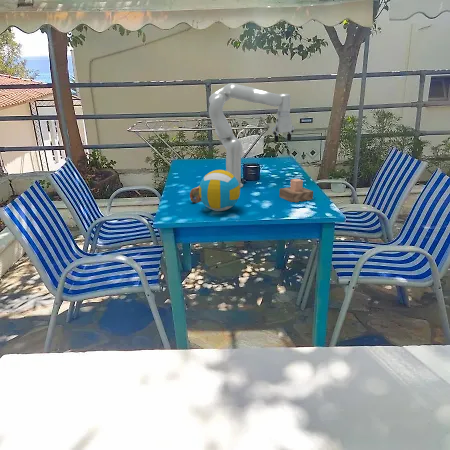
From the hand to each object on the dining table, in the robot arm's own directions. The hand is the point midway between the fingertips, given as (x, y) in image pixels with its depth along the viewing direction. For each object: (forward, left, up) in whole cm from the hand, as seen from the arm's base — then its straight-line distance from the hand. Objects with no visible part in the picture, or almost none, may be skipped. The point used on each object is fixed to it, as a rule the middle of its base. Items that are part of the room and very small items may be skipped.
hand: (282, 141), depth 269 cm
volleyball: (-62, -34, -28) cm, 76 cm away
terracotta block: (-12, -34, -23) cm, 43 cm away
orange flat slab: (-65, -12, -29) cm, 72 cm away
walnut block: (-12, -34, -28) cm, 46 cm away
